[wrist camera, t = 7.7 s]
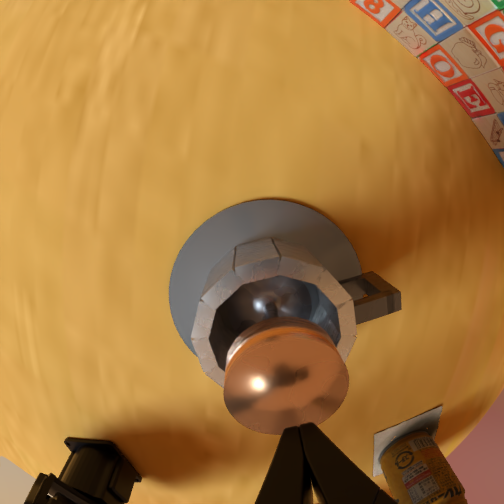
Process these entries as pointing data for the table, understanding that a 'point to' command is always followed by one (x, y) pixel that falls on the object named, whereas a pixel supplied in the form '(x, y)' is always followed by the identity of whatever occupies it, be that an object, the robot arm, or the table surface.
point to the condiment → (416, 463)
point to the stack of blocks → (455, 51)
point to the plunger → (280, 359)
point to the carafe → (293, 266)
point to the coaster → (247, 230)
